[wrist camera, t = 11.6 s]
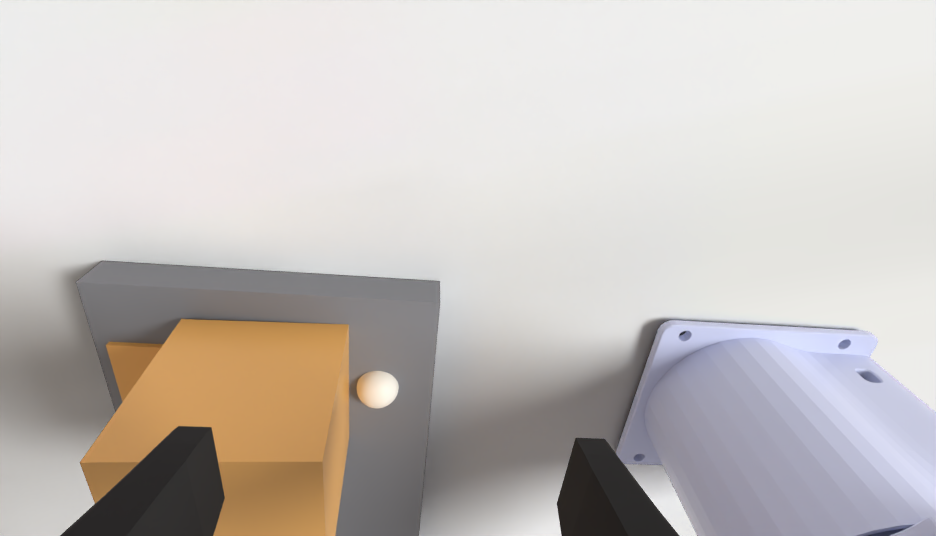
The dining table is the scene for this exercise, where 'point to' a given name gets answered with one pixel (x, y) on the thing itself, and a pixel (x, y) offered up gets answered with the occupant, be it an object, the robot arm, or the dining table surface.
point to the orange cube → (245, 420)
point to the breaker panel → (298, 301)
